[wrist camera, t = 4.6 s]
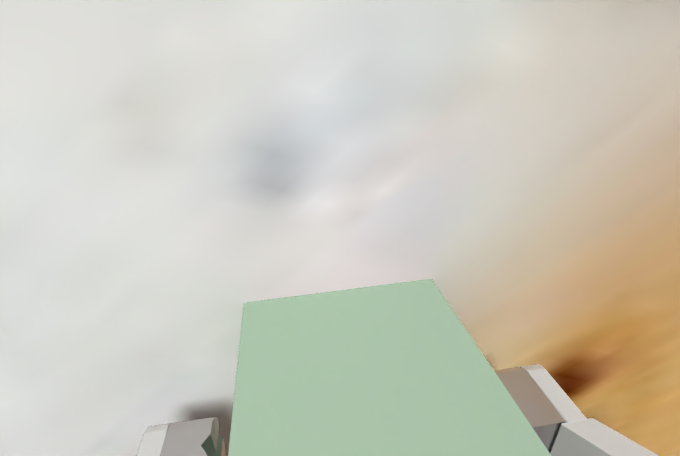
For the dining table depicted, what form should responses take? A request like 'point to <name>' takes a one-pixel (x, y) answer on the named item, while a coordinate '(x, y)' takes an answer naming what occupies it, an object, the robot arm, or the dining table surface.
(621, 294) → the dining table surface
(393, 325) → the green block
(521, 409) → the robot arm
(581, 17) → the dining table surface
